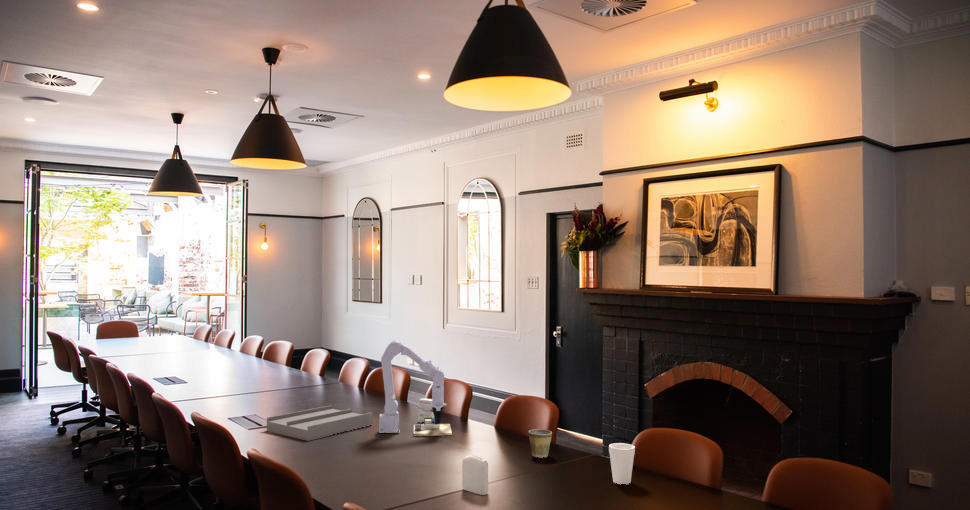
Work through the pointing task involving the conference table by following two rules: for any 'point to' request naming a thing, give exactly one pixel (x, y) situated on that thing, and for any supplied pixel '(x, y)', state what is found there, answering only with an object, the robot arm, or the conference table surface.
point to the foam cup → (621, 462)
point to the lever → (427, 426)
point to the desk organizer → (317, 422)
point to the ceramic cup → (540, 442)
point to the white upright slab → (475, 474)
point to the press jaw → (427, 421)
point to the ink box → (425, 409)
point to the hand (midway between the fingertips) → (437, 422)
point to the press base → (443, 429)
